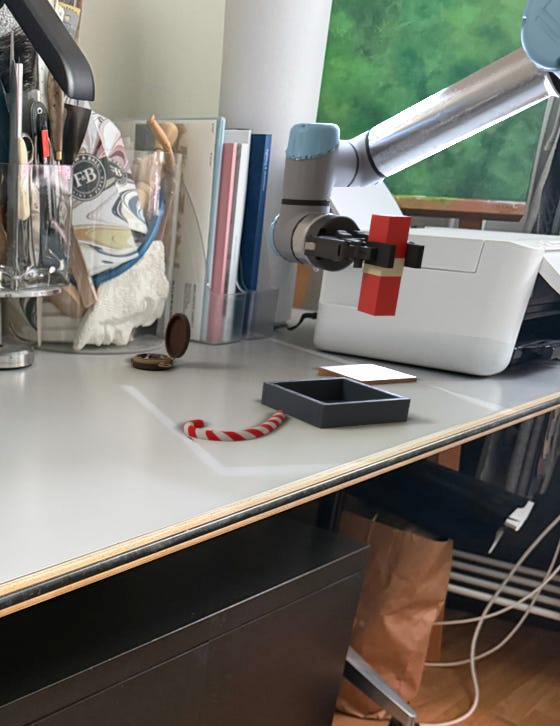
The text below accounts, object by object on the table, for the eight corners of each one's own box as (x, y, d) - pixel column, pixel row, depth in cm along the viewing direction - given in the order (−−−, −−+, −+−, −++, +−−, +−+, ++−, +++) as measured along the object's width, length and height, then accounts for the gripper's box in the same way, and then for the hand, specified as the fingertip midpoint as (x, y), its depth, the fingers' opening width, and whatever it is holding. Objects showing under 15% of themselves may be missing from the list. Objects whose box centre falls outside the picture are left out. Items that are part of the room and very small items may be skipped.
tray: (406, 425, 106) (411, 398, 105) (320, 432, 102) (324, 405, 101) (340, 401, 117) (344, 376, 115) (260, 407, 113) (263, 381, 111)
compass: (122, 363, 136) (124, 311, 132) (171, 361, 138) (174, 309, 135) (147, 374, 129) (150, 319, 126) (197, 371, 132) (201, 317, 128)
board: (415, 384, 127) (417, 377, 126) (360, 388, 124) (361, 380, 123) (370, 370, 135) (371, 363, 135) (317, 373, 132) (318, 366, 132)
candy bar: (377, 310, 128) (392, 214, 123) (395, 315, 124) (412, 216, 118) (356, 310, 127) (371, 214, 122) (374, 316, 123) (389, 216, 118)
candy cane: (308, 414, 104) (230, 437, 95) (307, 426, 105) (228, 450, 95) (250, 402, 109) (170, 423, 99) (249, 413, 110) (169, 435, 100)
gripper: (373, 269, 141) (458, 288, 120) (272, 269, 138) (341, 288, 118) (382, 215, 137) (470, 225, 117) (279, 213, 135) (351, 223, 114)
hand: (406, 257), depth 117 cm, fingers closed on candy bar, 3 cm apart
